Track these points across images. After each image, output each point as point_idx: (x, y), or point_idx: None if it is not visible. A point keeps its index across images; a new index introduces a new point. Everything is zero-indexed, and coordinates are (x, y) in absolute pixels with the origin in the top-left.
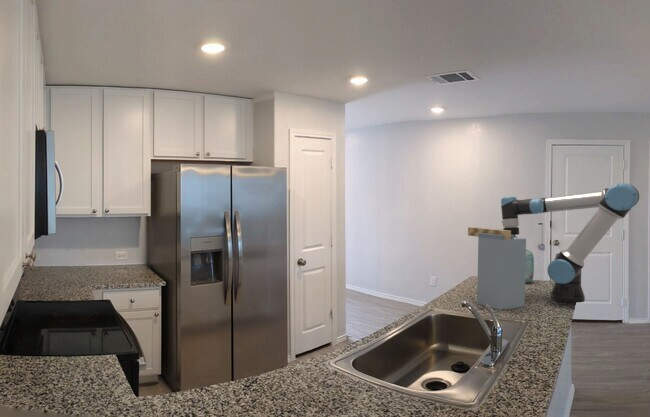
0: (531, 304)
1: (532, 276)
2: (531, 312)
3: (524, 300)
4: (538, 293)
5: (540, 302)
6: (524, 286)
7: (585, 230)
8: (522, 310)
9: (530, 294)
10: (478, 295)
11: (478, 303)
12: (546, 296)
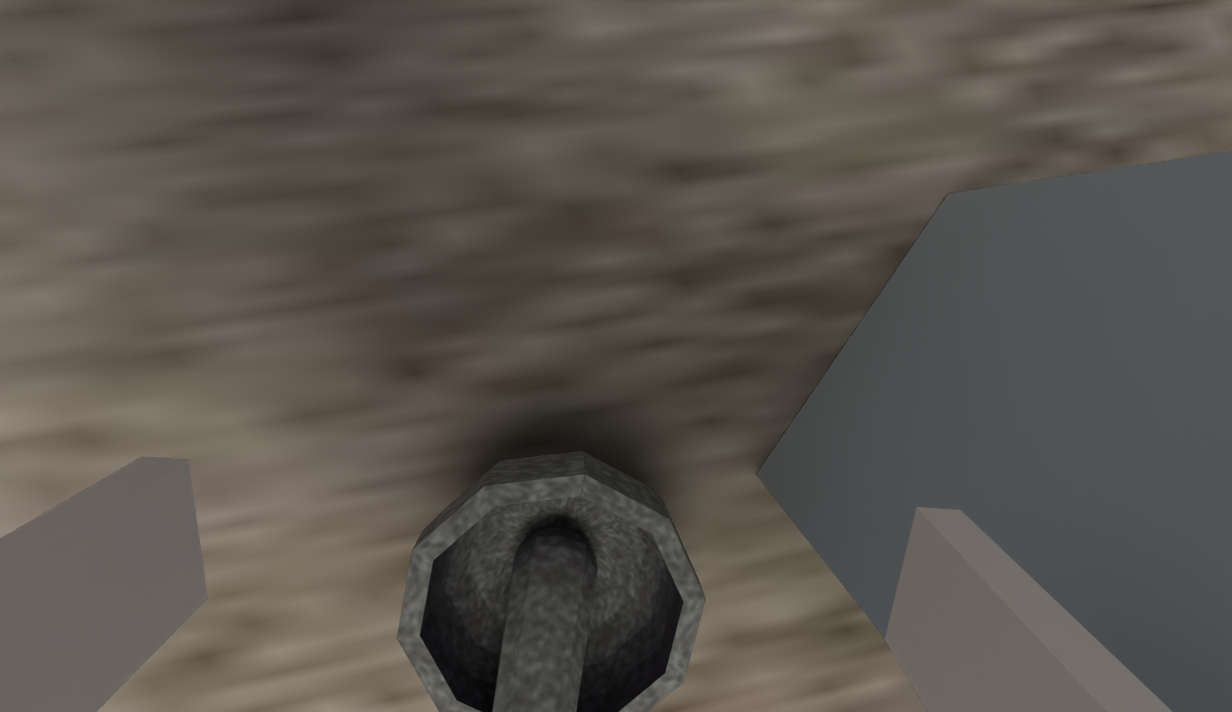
0: (794, 137)
1: None
2: (1197, 84)
3: (1000, 188)
4: (14, 140)
5: (619, 48)
6: (1189, 167)
7: None
8: None
9: (170, 231)
10: None
11: None
12: (160, 11)
